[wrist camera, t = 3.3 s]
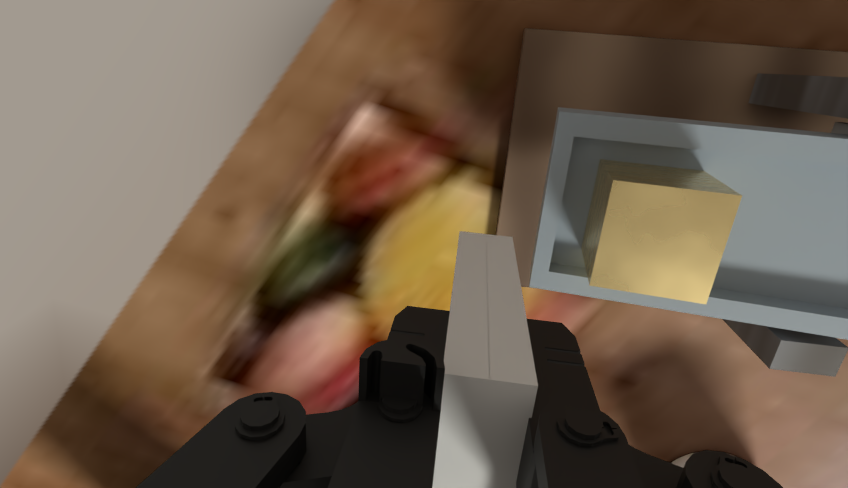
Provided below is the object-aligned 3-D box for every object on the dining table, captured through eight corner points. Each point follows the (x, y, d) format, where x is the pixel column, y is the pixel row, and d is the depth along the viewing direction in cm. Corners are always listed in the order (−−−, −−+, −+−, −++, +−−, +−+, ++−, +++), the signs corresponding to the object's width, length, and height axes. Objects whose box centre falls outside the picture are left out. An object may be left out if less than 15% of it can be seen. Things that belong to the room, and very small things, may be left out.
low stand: (489, 276, 33) (494, 359, 24) (524, 29, 28) (548, 13, 18) (926, 325, 31) (1115, 435, 22) (1064, 69, 26) (1400, 74, 16)
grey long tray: (530, 249, 30) (527, 293, 24) (557, 94, 26) (561, 102, 21) (1028, 324, 25) (1176, 403, 19) (1140, 146, 22) (1363, 176, 16)
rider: (581, 247, 24) (589, 285, 20) (600, 159, 22) (613, 180, 18) (677, 261, 23) (706, 304, 19) (703, 170, 21) (742, 195, 17)
